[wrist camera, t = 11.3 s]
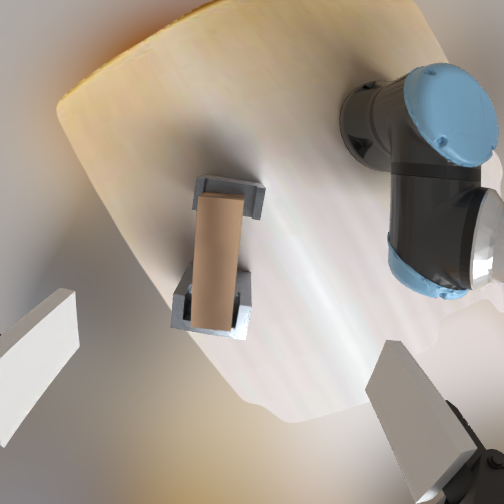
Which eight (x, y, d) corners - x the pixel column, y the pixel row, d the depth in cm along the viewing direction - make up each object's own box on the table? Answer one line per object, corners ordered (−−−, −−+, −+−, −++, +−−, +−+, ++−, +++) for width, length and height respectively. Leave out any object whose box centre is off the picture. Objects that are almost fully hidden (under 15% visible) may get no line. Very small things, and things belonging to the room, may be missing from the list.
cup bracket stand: (266, 184, 48) (273, 191, 36) (245, 299, 53) (245, 339, 41) (202, 173, 48) (186, 177, 35) (187, 290, 53) (170, 327, 40)
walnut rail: (244, 195, 40) (244, 200, 34) (232, 310, 44) (230, 331, 38) (205, 191, 40) (198, 196, 34) (197, 306, 44) (190, 327, 38)
